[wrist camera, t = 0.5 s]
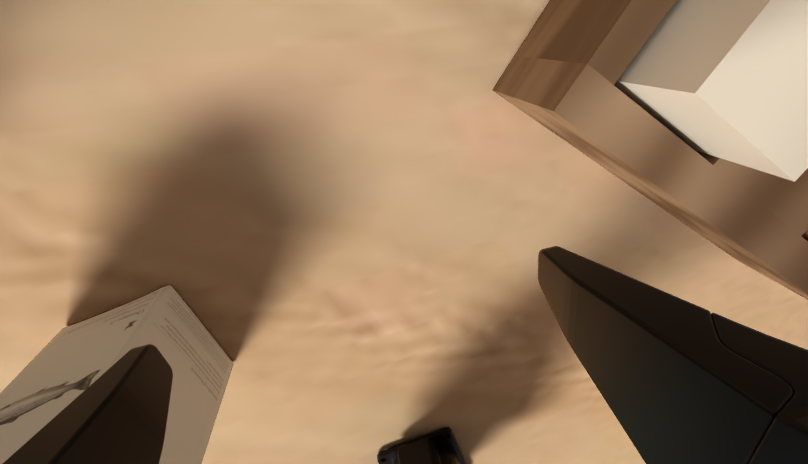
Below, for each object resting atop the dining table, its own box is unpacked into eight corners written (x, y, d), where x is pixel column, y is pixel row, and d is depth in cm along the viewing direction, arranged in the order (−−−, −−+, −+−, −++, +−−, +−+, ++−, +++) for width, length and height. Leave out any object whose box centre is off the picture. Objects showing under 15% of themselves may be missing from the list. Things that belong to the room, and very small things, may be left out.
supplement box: (171, 279, 24) (26, 492, 13) (237, 363, 27) (168, 590, 16) (58, 324, 24) (-182, 573, 13) (137, 402, 28) (1, 654, 16)
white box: (747, 27, 19) (947, 22, 13) (658, 138, 21) (794, 181, 15) (668, -57, 17) (859, -110, 11) (576, 74, 19) (695, 93, 13)
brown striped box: (861, 136, 27) (1018, 166, 21) (738, 261, 30) (844, 319, 24) (625, -117, 19) (767, -193, 13) (492, 90, 22) (553, 111, 16)
